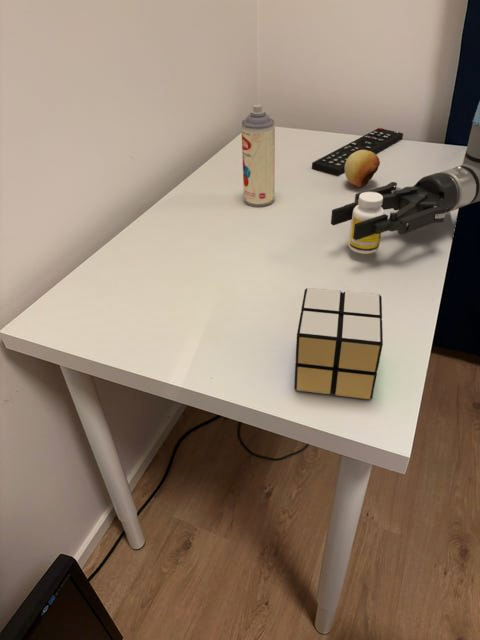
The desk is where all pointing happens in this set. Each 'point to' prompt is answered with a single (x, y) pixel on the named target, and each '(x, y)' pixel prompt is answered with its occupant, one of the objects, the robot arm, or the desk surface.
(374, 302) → the puzzle cube
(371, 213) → the supplement bottle
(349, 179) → the fruit
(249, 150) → the aerosol can
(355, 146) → the remote control
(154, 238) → the desk surface
